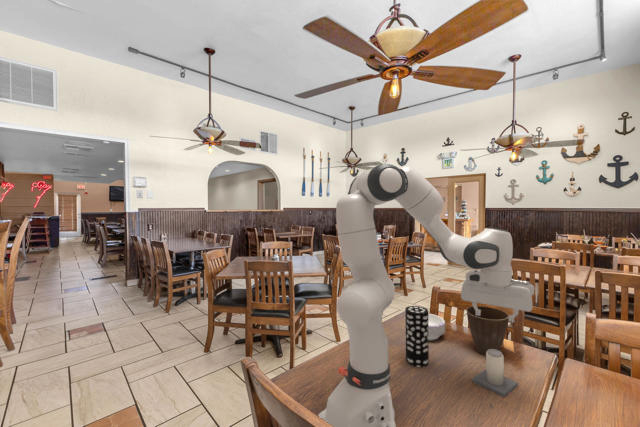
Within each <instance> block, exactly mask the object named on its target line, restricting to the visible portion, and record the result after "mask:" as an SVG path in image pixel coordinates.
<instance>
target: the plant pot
mask: <svg viewBox="0 0 640 427" xmlns="http://www.w3.org/2000/svg"><path fill="white" fill-rule="evenodd" d="M477 308H478V309H479V310H481V316H477V315H476V310H475V309H474V307H473V306H469V307H467V308H466V309H465V310H466V316H467V322H468V326H469V331H470V334H471V337H472V340H473V343H474V346H475V349H476V351H477V352H478V353H480V354H482V355H485V356H486V352H487V351H488V349H496V350H499V351H500V349H501V347H502V346H503V342H504V339H505V337H506V334H507V333H506V332H507V329H508V324H509V315H510V314H508V313H507V312H506V311H504V310H502V309H499V308H495V307H491V306H482V305H477Z"/></svg>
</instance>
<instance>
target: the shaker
mask: <svg viewBox="0 0 640 427" xmlns="http://www.w3.org/2000/svg"><path fill="white" fill-rule="evenodd" d="M504 360H505V359H504V354H503V353H502V352H501V351H500V350H496V349H488V351H487V352H486V355H485V367H486V368H485V370H486V380H487V381H488V382H489V383H491V384H493V385H503V384H504V377H505V376H504V374H505V373H504V372H505V369H504V368H505V367H504Z"/></svg>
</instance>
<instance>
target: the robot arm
mask: <svg viewBox="0 0 640 427" xmlns="http://www.w3.org/2000/svg"><path fill="white" fill-rule="evenodd" d="M394 200H395V201H396V202H397V203H399V204H400V206H401V207H402V208H403V209H404V211H406V212H407V213H408V214H409V215H410V216H411V217H413V219H414V220H416V221H417V222H418V223H419V224H420V225H421V226H422V227H423V229H424V230H425V231H426V233H427V234H428V235H429V236H430V237H431V238H432V240H434V241H435V243H436V244H437V246H438V249H439V252H440V253H441V255H442V257H443V259H444V260H446V261H447V262H449V263H454V264H458V265H460V266H464V267H466V268H468V269H471V270H469V271H467V272H466V273H465V280H464V281H463V283H462V286H461V290H460V291H461V292H460V298H461V300H462V301H465V302H470V303H471V307H474V309H475V310H476V315H477V316H481V310H479V309H478V308H477V306H478V304H482V305H488V306H493V307H498V308H499V307H500V308H505V309H511V310H512V312H513V313H512V314H508V315H509V319H508V323H515V318H516V317H517V316H518V314H519V313H520V312H519V311H521V312H527V313H529V312H531V311H532V310H533V296H534V294H535V289H536V288H535V286H534V284H532V283H531V282H529V281H528V280H520V279H513V267H512V260H513V255H514V254H513V252H514V250H513V249H514V248H513V247H514V244H513V237H512V234H511V233H510V232H509V231H508V230H505V229H501V228H495V227H485V228H484V229H483V230H482V231H481V232H480V233H478V234H476V235H474V236H471V237H468V236H463V235H460V234H458V233H454V232H453V231H452V230H451V229H450V228H449V227H448V226H447V224H446V223H445V222H444V221H443V220H442V219H441V218H440V215H441V213H442V212H443V209H444V206H445V205H444V204H445V203H444V199H443V196H441V194H440V192H439V190H437V188H436V187H434V185H432V184H431V182H430V181H429V180H428V179H426V178H425V176H423V175H422V174H421V173H419V172H418V170H417V171H416V170H415V169H414V168H412V167H411V166H406V165H404V166H401V167H397V166H396V165H394V164H390V163H382V164H378V165H376V166H374V167H372V168H370V169H367V170H364V171H363V172H361V173H360V174H359V175H357V176H355V178H354V179H353V180H352V181H351V183H350V185H349V188H348V192H347V194H345V195H343V196H342V197H340V198H339V199H338V201H337V202H336V205H335V206H336V207H335V210H336V211H335V218H336V230H337V231H336V232H337V236H338V243H339V247H340V253H341V254H340V255H341V259H342V261H343V263H344V264H346V266H347V267H348V270H349V271H350V273H351V276H352V278H353V283H352V284H350V285H348V286H347V287H346V288H345V289H344V290H343V292H342V293H341V294H340V295H339V297H338V299H337V301H336V302H337V303H336V310H337V314H338V317H339V318H340V319H341V321H342V322H343V323H344V324H345V325H346V329H347V333H348V340H349V342H348V343H349V361H348V363H347V366H346V367H347V368H345V367H344V366H342V365H341V366H339V368H338V371H337V372H338V373H339V375H342V376H343V377H344V378H343V379H342V380H341V381H340V383H339V384H338V385H337V386H336V387H335V389H334V390H333V391H332V392H331V394H330V395H329V396H328V397H327V403H326V407H325V409H323V410H322V411H320V412H319V413H318V415H317V416H319V417H320V418H322V419H323V420H325V421H326V422H328V423H329V424H331V425H333V426H334V427H397V426H396V422H395V417H396V413H395V412H396V411H395V409H394V406H393V400H392V393H391V386H390V380H391V365H390V362H389V338H388V336H387V335H388V334H386V333H385V330H384V325H383V315H384V312H385V310H386V309H387V308H388V307H389V306H390V305H391V304H392V302H393V300H394V298H395V293H396V287H395V284H394V282H393V280H392V279H391V278H390V277H389V274H388V272H387V269H386V266H385V263H384V262H383V261H384V260H383V259H382V258H383V257H382V256H381V252H380V246H379V241H378V236H377V228H376V224H375V220H374V210H375V207H376V206H380V205H383V204H385V203H388V202H390V201H394Z"/></svg>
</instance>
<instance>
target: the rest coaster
mask: <svg viewBox="0 0 640 427" xmlns="http://www.w3.org/2000/svg"><path fill="white" fill-rule="evenodd" d="M471 382H472V383H474V384H475V385H478V386H480V387H482V388H484V389H486V390H488V391H490V392H493V393H494V394H496V395H499V396H500V397H502V398H505V397H507V396H508V395H509V394H510V393H511V392H512V391H514V390H515V389H516V388H517V387H518V386H519V382H517V381H515V380H513V379H510V378H508V377H506V376H504V384H503V385H493V384H491V383H489V382H488V381H487V380H486V369H484V370H483V371H482V372H480V373H478V374H477V375H476V376H474V377H473V378H471Z"/></svg>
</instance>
